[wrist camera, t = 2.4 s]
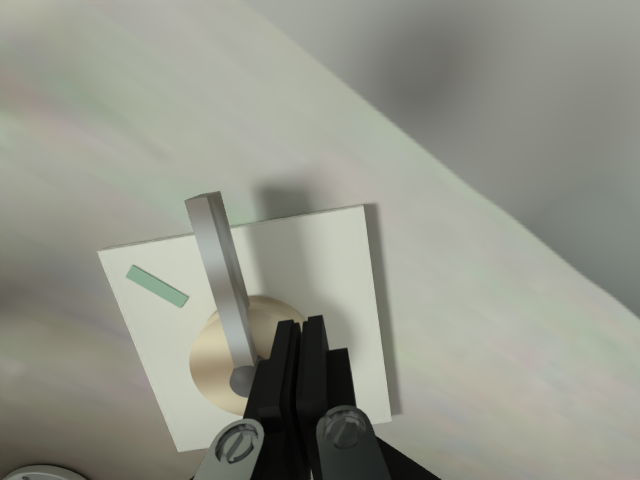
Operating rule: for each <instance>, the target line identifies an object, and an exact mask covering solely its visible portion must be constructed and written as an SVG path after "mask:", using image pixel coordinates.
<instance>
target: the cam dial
mask: <svg viewBox="0 0 640 480" xmlns="http://www.w3.org/2000/svg"><path fill="white" fill-rule="evenodd" d="M185 205H186V208H187V211H188V215H189V218H190V221H191V225H192V228H193V231H194V234H195V238H196V241H197V244H198V248H199V251H200V254H201V258H202V261H203V264H204V268H205V271H206V274H207V277H208V281H209V284H210V287H211V291H212V294H213V297H214V301H215V304H216V307H217V310H216V311H215V312H214V313H213V314H212V315H211V317H210V318H209V319H208V321H207V322H206V324H205V326H204V327H203V329H202V330H201V332H200V333H199V335H198V337H197V338H196V340H195V342H194V343H193V346H192V349H191V352H190V357H189V366H190V372H191V376H192V379H193V381H194V383H195V385H196V387H197V388H198V390H199V391H200V392H201V394H202V395H203V396H204V397H205V398H206V399H207V400H208V401H210V402H211V403H212V404H213V405H215V406H217V407H218V408H220V409H222V410H224V411H226V412H229V413H232V414H235V415H239V416H243V415H244V411H245V408H246V404H247V401H248V397H249V394H250V390H251V387H252V383H253V380H254V376H255V373H256V369H257V366H258V363H259V361H260V360H264V359H269V358H270V354H271V349H272V345H273V341H274V337H275V333H276V328H277V324H278V321H284V320H290V319H293V320H294V323H296V322H299V323H300V327H301V332H302V325H303V321H306V320H305V319H304V318H303V317H302V316H301V315H300V314H299V313H298V312H297V311H296V310H295V309H293V308H292V307H290V306H289V305H287V304H285V303H283V302H281V301H278V300H276V299H272V298H268V297H261V296H250V297H248V295H247V291H246V287H245V283H244V280H243V276H242V272H241V268H240V264H239V261H238V257H237V253H236V249H235V246H234V242H233V238H232V234H231V231H230V227H229V223H228V219H227V216H226V212H225V208H224V204H223V200H222V197H221V193H220V191H218V192H212V193H206V194H201V195H198V196H195V197H193V198H190V199H187V200H185Z"/></svg>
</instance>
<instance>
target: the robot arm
mask: <svg viewBox="0 0 640 480" xmlns="http://www.w3.org/2000/svg"><path fill="white" fill-rule="evenodd" d="M311 470H312V474H313V479H314V480H441V479H440V478H438V477H437V476H435V475H434V474H432V473H431V472H429V471H428V470H426V469H425V468H423V467H422V466H420V465H419V464H417V463H416V462H414V461H413V460H411V459H410V458H408V457H407V456H405V455H404V454H402V453H401V452H399V451H398V450H396V449H395V448H393V447H392V446H390V445H389V444H387V443H386V442H384V441H383V440H381V439H380V438H378V437H377V436H376V435H375V433H374V430H373V427H372V424H371V422H370V420H369V418H368V416H367V414H365V413H364V412H363V411H362V410H361V409H359V408H357V405H356V398H355V391H354V384H353V377H352V371H351V365H350V359H349V353H348V348H340V349H333V350H329V345H328V340H327V335H326V329H325V324H324V319H323V315H317V316H310V317H308V321H303V325H302V332H301V327H300V323H299V322H296V323H294V320H293V319H290V320H284V321H278V324H277V328H276V333H275V337H274V341H273V345H272V349H271V354H270V358H269V359H264V360H260V361H259V363H258V366H257V369H256V373H255V376H254V380H253V383H252V387H251V390H250V394H249V397H248V401H247V404H246V408H245V411H244V415H243V418H242V419H241V420H237V421H235V422H232V423H230V424H229V425H227V426H226V427H224V428H223V429H222V430H221V431H220V432H219V433H218V434H217V435H216V437H215V438H214V440H213V441H212V443H211V445H210V447H209V449H208V451H207V453H206V455H205V457H204V459H203V461H202V463H201V465H200V467H199V469H198V471H197V473H196V475H195V476H193V477H192V478H191V479H190V480H311ZM3 480H87V479H85V478H84V477H82V476H80V475H79V474H77V473H74V472H72V471H70V470H67V469H64V468H60V467H55V466H50V465H33V466H26V467H23V468H19V469H17V470H15V471H13V472H11V473H10V474H8V475H7V476H6V477H5V478H4V479H3Z"/></svg>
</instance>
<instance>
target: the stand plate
mask: <svg viewBox="0 0 640 480" xmlns="http://www.w3.org/2000/svg"><path fill="white" fill-rule="evenodd" d="M230 231H231V234H232V238H233V242H234V246H235V249H236V253H237V257H238V261H239V264H240V268H241V272H242V276H243V280H244V283H245V287H246V291H247V295H248V297H250V296H261V297H268V298H272V299H276V300H278V301H281V302H283V303H285V304H287V305H289V306H290V307H292V308H293V309H295V310H296V311H297V312H298V313H299V314H300V315H301V316H302V317H303V318H304V319H305V320H306V321H308V317H310V316H317V315H323V319H324V324H325V329H326V335H327V340H328V345H329V350H333V349H340V348H348V353H349V359H350V365H351V371H352V377H353V384H354V391H355V398H356V405H357V408H359V409H361V410H362V411H363V412H364V413H365V414H367V416H368V418H369V420H370V422H371V424H379V423H386V422H392V419H391V412H390V404H389V396H388V389H387V381H386V374H385V366H384V358H383V351H382V343H381V335H380V328H379V320H378V313H377V305H376V297H375V290H374V282H373V275H372V267H371V259H370V252H369V244H368V237H367V229H366V221H365V214H364V206H363V205H362V204H361V205H355V206H349V207H343V208H337V209H331V210H325V211H320V212H314V213H308V214H302V215H296V216H290V217H285V218H279V219H273V220H267V221H261V222H255V223H249V224H244V225H238V226H232V227H230ZM97 253H98V256H99V258H100V261H101V263H102V265H103V268H104V270H105V273H106V275H107V278H108V280H109V283H110V285H111V288H112V290H113V293H114V295H115V298H116V300H117V302H118V305H119V307H120V310H121V312H122V315H123V317H124V320H125V322H126V325H127V327H128V330H129V332H130V335H131V337H132V339H133V342H134V344H135V347H136V349H137V352H138V354H139V357H140V359H141V362H142V364H143V367H144V369H145V371H146V374H147V376H148V379H149V381H150V384H151V386H152V389H153V391H154V394H155V396H156V399H157V401H158V404H159V406H160V408H161V411H162V413H163V416H164V418H165V421H166V423H167V426H168V428H169V431H170V433H171V436H172V438H173V441H174V443H175V445H176V448H177V450H178V452H183V451H190V450H197V449H204V448H209V447H210V445H211V443H212V441H213V440H214V438H215V437H216V435H217V434H218V433H219V432H220V431H221V430H222V429H223V428H224V427H226V426H227V425H229V424H230V423H232V422H235V421H237V420H241V419H242V418H243V416H239V415H235V414H232V413H229V412H226V411H224V410H222V409H220V408H218V407H217V406H215V405H213V404H212V403H211V402H210V401H208V400H207V399H206V398H205V397H204V396H203V395H202V394H201V392H200V391H199V390H198V388H197V387H196V385H195V383H194V381H193V379H192V376H191V372H190V366H189V357H190V352H191V349H192V346H193V343H194V342H195V340H196V338H197V337H198V335H199V333H200V332H201V330H202V329H203V327H204V326H205V324H206V322H207V321H208V319H209V318H210V317H211V315H212V314H213V313H214V312H215V311H216V310H217V307H216V304H215V301H214V297H213V294H212V291H211V287H210V284H209V281H208V277H207V274H206V271H205V268H204V264H203V261H202V258H201V254H200V251H199V248H198V244H197V241H196V238H195V234H194V233H191V234H185V235H179V236H173V237H168V238H162V239H156V240H150V241H144V242H138V243H133V244H127V245H121V246H115V247H109V248H104V249H102V250H100V251H98V252H97Z"/></svg>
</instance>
